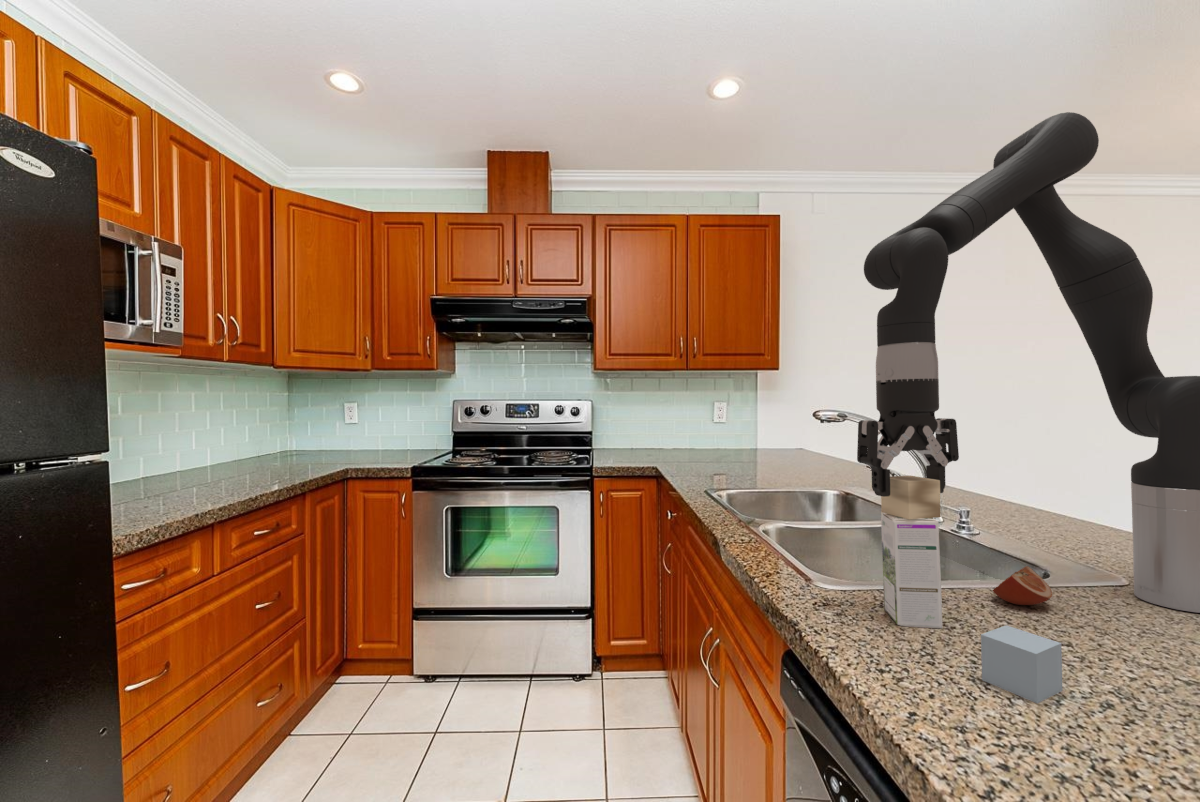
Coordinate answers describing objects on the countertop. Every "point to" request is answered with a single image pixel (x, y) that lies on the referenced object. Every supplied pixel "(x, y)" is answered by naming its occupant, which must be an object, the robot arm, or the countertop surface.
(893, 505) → the maple block
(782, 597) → the countertop surface
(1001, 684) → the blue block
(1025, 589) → the fruit slice
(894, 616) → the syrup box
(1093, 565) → the countertop surface
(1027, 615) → the countertop surface
